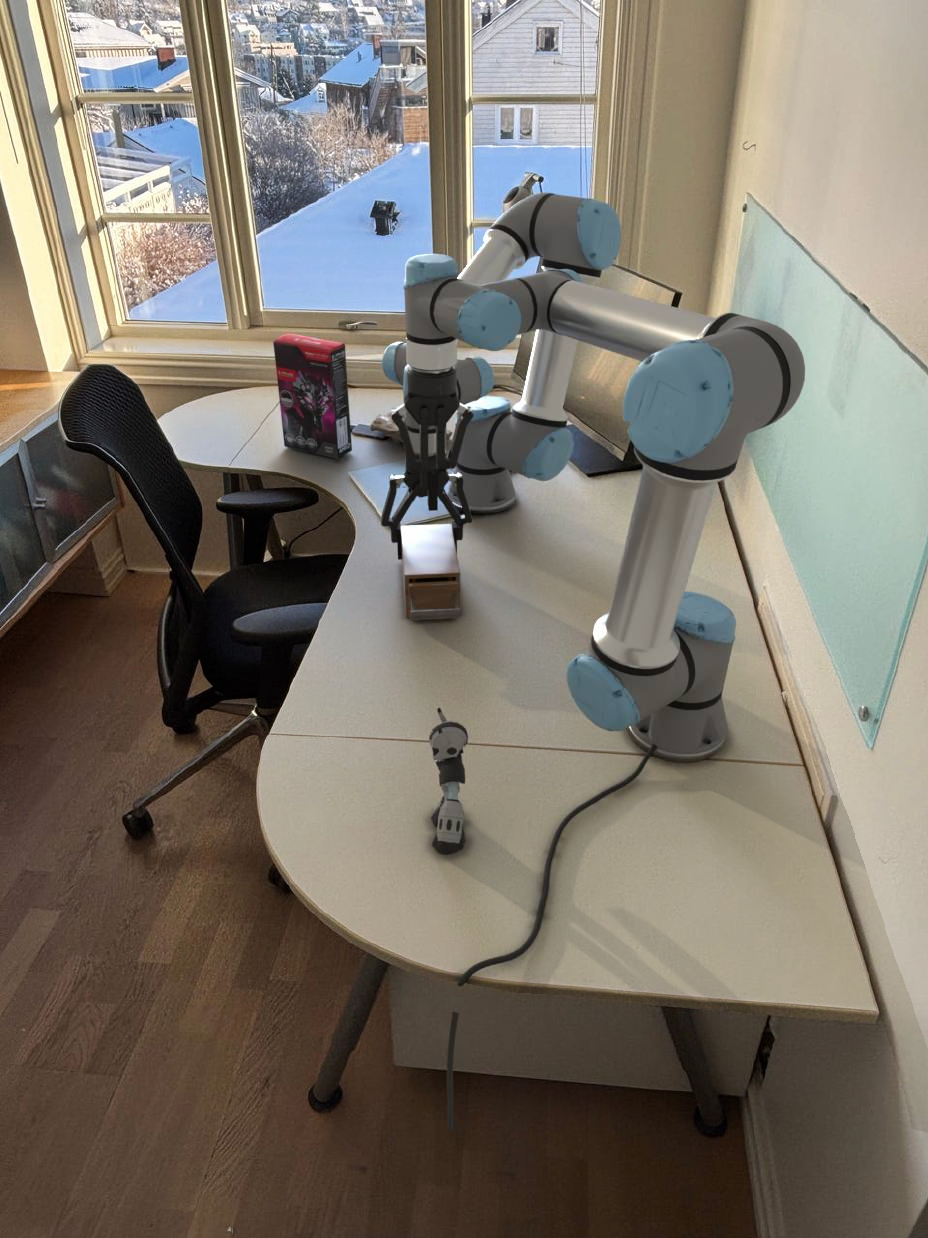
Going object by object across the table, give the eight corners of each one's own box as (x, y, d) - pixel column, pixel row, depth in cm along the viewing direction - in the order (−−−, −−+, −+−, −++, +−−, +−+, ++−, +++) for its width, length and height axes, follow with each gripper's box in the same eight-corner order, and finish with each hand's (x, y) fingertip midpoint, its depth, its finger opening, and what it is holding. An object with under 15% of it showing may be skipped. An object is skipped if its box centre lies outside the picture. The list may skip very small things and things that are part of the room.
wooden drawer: (461, 637, 162) (461, 602, 158) (411, 639, 161) (410, 605, 157) (449, 568, 182) (449, 536, 178) (405, 570, 181) (404, 538, 177)
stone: (354, 436, 230) (358, 412, 227) (375, 427, 243) (380, 405, 241) (432, 460, 226) (438, 436, 224) (450, 450, 240) (455, 428, 237)
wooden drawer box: (459, 615, 170) (460, 572, 165) (405, 617, 169) (404, 575, 164) (451, 563, 185) (451, 523, 180) (401, 565, 184) (400, 525, 179)
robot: (470, 888, 117) (472, 772, 106) (432, 889, 117) (430, 773, 106) (463, 780, 133) (464, 669, 122) (429, 781, 133) (427, 670, 122)
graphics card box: (282, 447, 232) (270, 339, 217) (298, 438, 237) (288, 331, 222) (338, 461, 225) (330, 350, 210) (354, 451, 230) (347, 342, 215)
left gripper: (485, 438, 171) (482, 543, 184) (363, 442, 169) (368, 547, 182) (489, 455, 165) (486, 562, 178) (363, 458, 163) (369, 567, 176)
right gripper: (472, 356, 141) (469, 495, 155) (387, 358, 140) (392, 497, 153) (477, 373, 135) (474, 516, 148) (388, 374, 134) (393, 518, 147)
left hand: (427, 555), depth 180 cm, fingers closed on wooden drawer box, 10 cm apart
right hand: (432, 506), depth 151 cm, fingers closed
